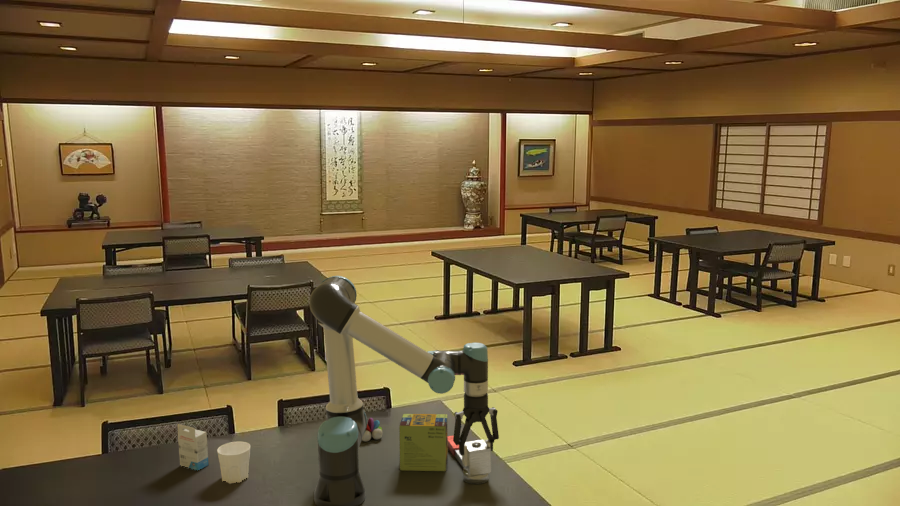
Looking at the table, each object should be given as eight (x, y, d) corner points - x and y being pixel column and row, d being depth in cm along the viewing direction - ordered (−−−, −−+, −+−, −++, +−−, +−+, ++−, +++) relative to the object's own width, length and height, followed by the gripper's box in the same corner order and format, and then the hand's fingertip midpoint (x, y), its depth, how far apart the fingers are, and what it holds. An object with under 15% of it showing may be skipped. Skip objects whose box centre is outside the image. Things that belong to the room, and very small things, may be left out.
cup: (218, 486, 213) (216, 456, 211) (219, 472, 222) (218, 443, 221) (251, 482, 216) (250, 452, 214) (252, 468, 225) (250, 439, 224)
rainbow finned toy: (353, 435, 251) (352, 416, 250) (378, 430, 255) (377, 412, 254) (360, 444, 243) (359, 424, 242) (385, 439, 247) (385, 420, 246)
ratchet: (467, 485, 213) (467, 460, 211) (440, 445, 242) (440, 422, 241) (492, 482, 215) (492, 457, 214) (462, 442, 244) (462, 420, 243)
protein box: (446, 471, 222) (446, 426, 220) (399, 470, 223) (398, 425, 221) (448, 457, 233) (448, 413, 230) (403, 456, 233) (402, 413, 231)
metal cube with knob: (469, 475, 212) (469, 450, 211) (462, 466, 219) (462, 441, 218) (490, 472, 214) (490, 447, 213) (483, 462, 221) (483, 438, 220)
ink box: (209, 465, 228) (206, 423, 225) (197, 471, 223) (194, 428, 221) (191, 460, 231) (188, 418, 229) (179, 466, 227) (176, 423, 225)
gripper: (448, 400, 207) (449, 472, 210) (510, 393, 212) (510, 463, 216) (441, 392, 214) (442, 461, 217) (501, 385, 220) (501, 453, 223)
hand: (476, 462), depth 217 cm, fingers closed on metal cube with knob, 7 cm apart
